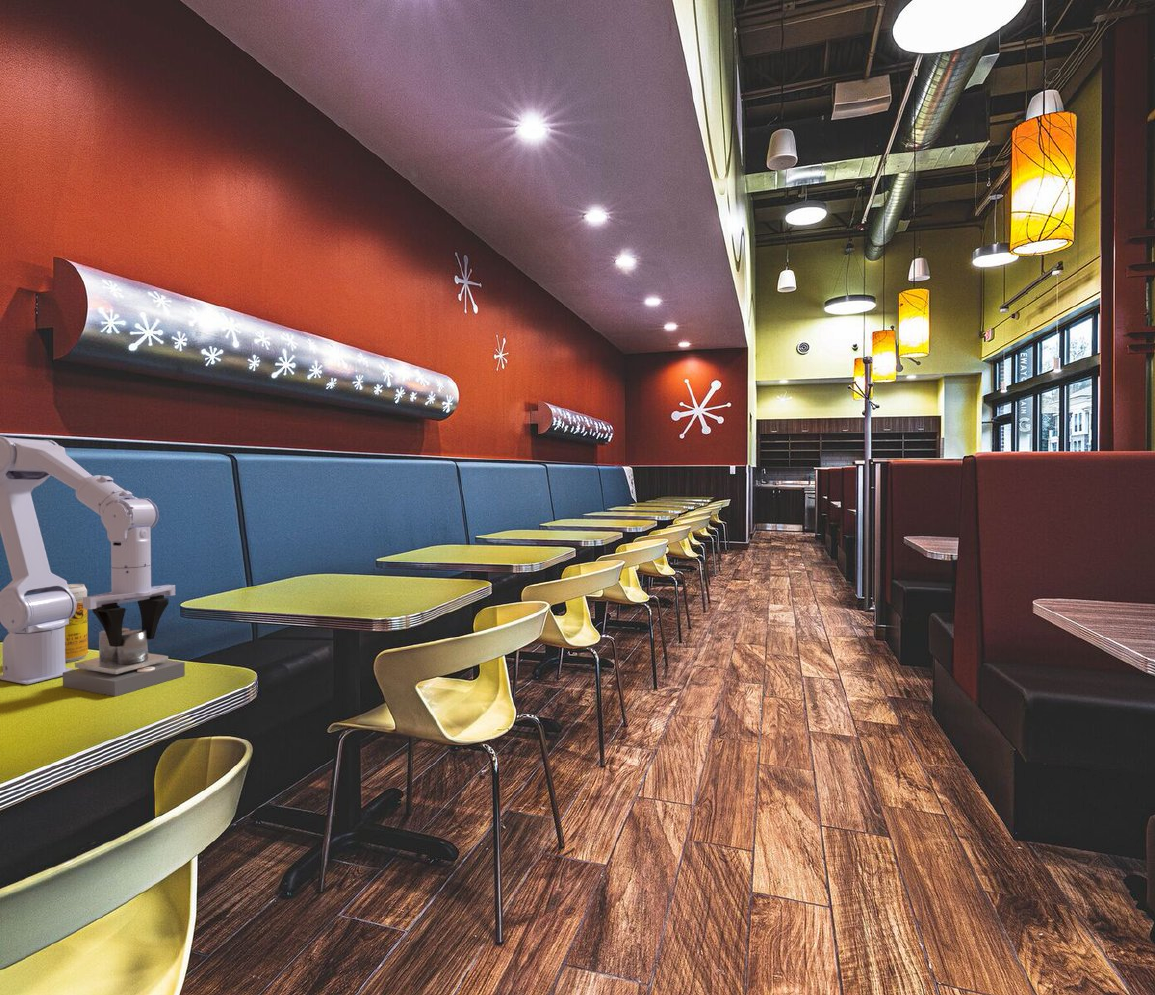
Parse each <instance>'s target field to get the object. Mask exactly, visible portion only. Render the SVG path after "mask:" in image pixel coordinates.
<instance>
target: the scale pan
mask: <svg viewBox="0 0 1155 995" xmlns="http://www.w3.org/2000/svg"><path fill="white" fill-rule="evenodd" d="M148 657H149V658H148V659H147V660H144V661H141V662H137V663H132V664H124V665H121V664H118V661H111V662H101V661H99V657H95V658H91V659H87V660H86V659H85V660H81V661H78V662H77V661H76V662H74V669H79V668H81V669H87V670H93V671H99V672H104V673H110V674H119V673H123V672H126V671H130V670H134V669H138V668H141V667H145V666H149V665H153V664H157V663H160V662H164V661H168V660H169V655H163V654H157V653H150V652H148Z"/></svg>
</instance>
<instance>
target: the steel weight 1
mask: <svg viewBox="0 0 1155 995" xmlns="http://www.w3.org/2000/svg"><path fill="white" fill-rule="evenodd" d="M126 631H131V630H130V628H128V627H127V628H125V627H122V632H126ZM98 636H99V637H98V646H99V647H98V650H99V651H98V652H99V653H98V654H99V656H98V658H99V661H101V662H111V661H118V657H117V647H113V646H110V645H109V641H108V638H107V635H106V632H105V630H104V629H103V630H101V631H99V632H98Z"/></svg>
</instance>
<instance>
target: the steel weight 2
mask: <svg viewBox="0 0 1155 995" xmlns="http://www.w3.org/2000/svg"><path fill="white" fill-rule="evenodd" d="M148 653H149V648H148V639H147V635H146V630H142V629H134V630H130V631H126V632H122V644H121V646H119V647H117V657H118V664H121V665H124V664H132V663H137V662H141V661H144V660H147V659H148V658H149V657H148Z"/></svg>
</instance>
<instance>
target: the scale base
mask: <svg viewBox="0 0 1155 995" xmlns="http://www.w3.org/2000/svg"><path fill="white" fill-rule="evenodd" d="M185 664H186V663H185V662H184V661H178V660H172V659H171V660H170V659H168V661H164V662H160V663H157V664H153V665H149V666H145V667H141V668H138V669H134V670H130V671H126V672H123V673H119V674H110V673H104V672H99V671H93V670H87V669H81V668H74V669H75V670H71V671H67V672H63V676H62V687H63V688H68V689H74V690H78V691H84V692H89V693H95V694H99V693H100V695H104V694H106V695H105V696H110V695H111V697H118V696H122V695H125V694H128V693H131V692H135V691H139V690H141V689H145V688H148V687H152V686H155V685H159V684H162V683H165V682H169V681H172V680H174V679H179V678H182V677H185V675H186V673H185V668H186V666H185Z"/></svg>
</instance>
